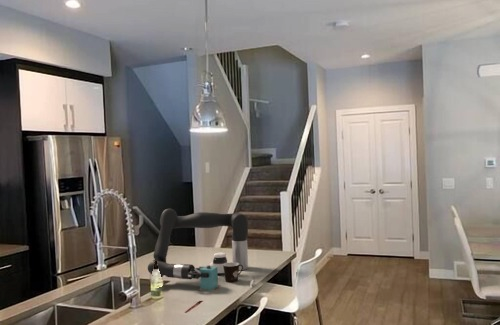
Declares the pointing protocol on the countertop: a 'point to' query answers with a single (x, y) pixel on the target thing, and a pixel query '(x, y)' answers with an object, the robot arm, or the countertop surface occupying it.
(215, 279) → the teal rectangular block
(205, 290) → the walnut board
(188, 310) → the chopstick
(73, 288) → the countertop surface
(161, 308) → the countertop surface
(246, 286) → the countertop surface
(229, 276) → the coffee mug
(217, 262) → the spread jar
